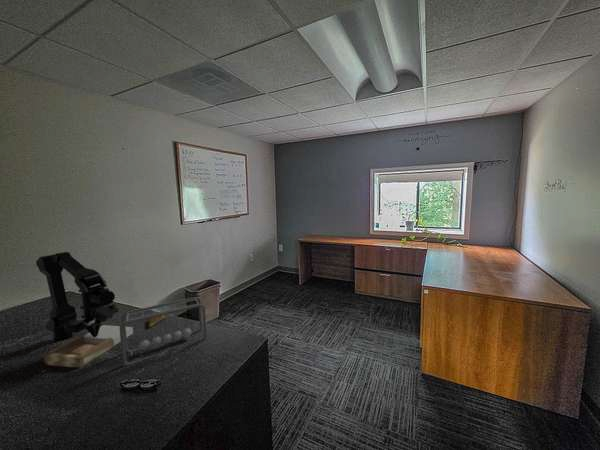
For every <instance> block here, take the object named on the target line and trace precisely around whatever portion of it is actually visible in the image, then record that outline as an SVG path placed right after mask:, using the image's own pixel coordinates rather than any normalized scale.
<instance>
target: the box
mask: <svg viewBox="0 0 600 450" xmlns="http://www.w3.org/2000/svg"><path fill="white" fill-rule="evenodd" d="M83 336H84V335H82V334H81V335H78V336H77V337H75V338H72V339H71V340H69V341H67V342H64V343H62V344H61V345H59V346H57V347H55V348H54V349H51V350H50V351H48V352H45V354H43V360H44V365H46V366H55V367H56V366H57V367H63V368H64V367H66V368H79V369H80V368H82V367H83V366H85V365H87V364H88V363H90V362H91V361H93V360H94V359H95V358H97V357H99V356H100V355H102V354H104V353H106V351H108V350H110V349H111V348H113V347H114V346H113V341H112V338H107V339H106V340H104V341H103V342H101V343H99V344H95V346H94V347H93V348H91V349H89V350H88V351H86V352H85V353H83V354H81V355H71V354H70V352H71V351H73V350H75V349H76V348H78V347H80V346H82V345H83V344H85V343H84V338H83Z"/></svg>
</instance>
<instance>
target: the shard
mask: <svg viewBox="0 0 600 450" xmlns="http://www.w3.org/2000/svg"><path fill="white" fill-rule="evenodd" d="M163 320H165V315H163V316H158V317H155V321H154V318H150V319H148V327H149V328H151V327H152V326H155V325H156V324H157V323H159V322H161V321H163Z"/></svg>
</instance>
